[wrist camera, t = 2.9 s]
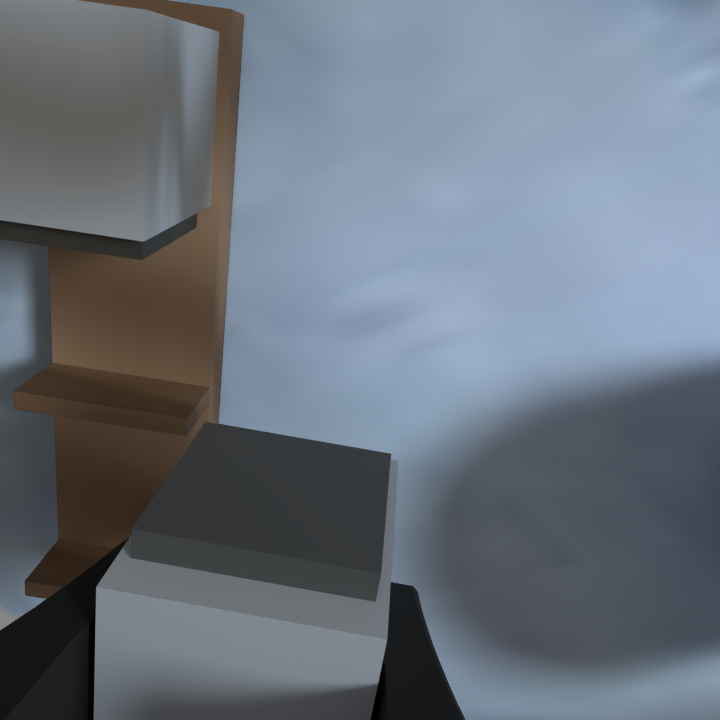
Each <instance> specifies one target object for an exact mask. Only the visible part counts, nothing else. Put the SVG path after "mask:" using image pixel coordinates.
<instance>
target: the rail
mask: <svg viewBox="0 0 720 720" xmlns="http://www.w3.org/2000/svg"><path fill="white" fill-rule="evenodd" d="M243 25H244V15H243V14H241V13H239V12H236V11H234V10H232V9H225V8H218V7H211V6H204V5H197V4H189V3H182V2H175V1H168V0H0V239H5V240H11V241H18V242H25V243H31V244H38V245H44V246H48V249H49V277H50V305H51V333H52V361H53V363H51V364H50V365H49V366H47V367H46V368H45V369H43V370H42V371H40V372H39V373H38V374H36V375H35V376H34V377H32V378H31V379H29V380H28V381H27V382H25V383H24V384H23V385H21V386H20V387H18V388H17V389H16V390H14V391H13V394H14V409H18V410H24V411H31V412H37V413H43V414H49V415H54V417H55V445H56V473H57V501H58V529H59V540H58V541H57V542H56V543H55V545H54V546H53V547H52V548H51V549H50V551H49V552H48V553H47V554H46V556H45V557H44V558H43V559H42V561H41V562H40V563H39V564H38V565H37V567H36V568H35V569H34V570H33V572H32V573H31V574H30V575H29V577H28V578H27V579H26V580H25V595H27V596H33V597H39V598H45V599H47V598H49V597H50V596H51V595H53V594H54V593H56V592H57V591H58V590H60V589H61V588H62V587H64V586H65V585H67V584H68V583H69V582H71V581H72V580H73V579H75V578H76V577H77V576H79V575H80V574H81V573H83V572H84V571H85V570H87V569H88V568H89V567H90V566H92V565H93V564H94V563H96V562H97V561H98V560H100V559H101V558H102V557H103V556H105V555H106V554H107V553H109V552H110V551H111V550H112V549H114V548H115V547H116V546H118V545H119V544H120V543H122V542H123V541H124V540H126V539H127V538H129V537H130V536H131V535H132V528H133V527H134V526H135V524H136V523H137V521H138V520H139V518H140V517H141V515H142V514H143V512H144V511H145V509H146V508H147V506H148V505H149V504H150V502H151V501H152V499H153V498H154V496H155V495H156V493H157V492H158V490H159V489H160V487H161V486H162V484H163V483H164V482H165V480H166V479H167V477H168V476H169V474H170V473H171V471H172V470H173V468H174V467H175V465H176V464H177V463H178V461H179V460H180V458H181V457H182V455H183V454H184V452H185V451H186V449H187V448H188V446H189V445H190V443H191V442H192V441H193V439H194V438H195V436H196V435H197V433H198V432H199V430H200V429H201V427H202V426H203V424H204V423H205V422H211V423H216V424H218V422H219V406H220V390H221V375H222V359H223V343H224V327H225V311H226V295H227V279H228V263H229V247H230V231H231V215H232V200H233V184H234V168H235V152H236V136H237V120H238V104H239V88H240V72H241V56H242V41H243Z"/></svg>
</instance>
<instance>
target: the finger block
mask: <svg viewBox="0 0 720 720" xmlns="http://www.w3.org/2000/svg"><path fill="white" fill-rule="evenodd" d="M397 471H398V461H395V460H391V454H389V453H383V452H378V451H372V450H366V449H360V448H355V447H349V446H343V445H337V444H332V443H326V442H320V441H314V440H309V439H303V438H297V437H291V436H286V435H280V434H274V433H268V432H263V431H257V430H251V429H245V428H239V427H234V426H228V425H222V424H216V423H211V422H205V423H204V424H203V426H202V427H201V429H200V430H199V432H198V433H197V435H196V436H195V438H194V439H193V441H192V442H191V443H190V445H189V446H188V448H187V449H186V451H185V452H184V454H183V455H182V457H181V458H180V460H179V461H178V463H177V464H176V465H175V467H174V468H173V470H172V471H171V473H170V474H169V476H168V477H167V479H166V480H165V482H164V483H163V484H162V486H161V487H160V489H159V490H158V492H157V493H156V495H155V496H154V498H153V499H152V501H151V502H150V504H149V505H148V506H147V508H146V509H145V511H144V512H143V514H142V515H141V517H140V518H139V520H138V521H137V523H136V524H135V526H134V527H133V528H132V535H131V536H130V538H129V539H128V541H127V542H126V544H125V545H124V547H123V548H122V550H121V551H120V553H119V554H118V555H117V557H116V558H115V560H114V561H113V563H112V564H111V566H110V567H109V569H108V570H107V572H106V573H105V575H104V576H103V578H102V579H101V581H100V582H99V584H98V585H97V587H96V623H95V675H94V720H371V715H372V710H373V706H374V701H375V696H376V691H377V686H378V682H379V677H380V672H381V667H382V662H383V658H384V653H385V648H386V643H387V636H388V619H389V603H390V586H391V570H392V553H393V537H394V520H395V504H396V487H397Z"/></svg>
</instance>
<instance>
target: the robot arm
mask: <svg viewBox="0 0 720 720" xmlns="http://www.w3.org/2000/svg"><path fill="white" fill-rule="evenodd" d="M129 538H130V537H129ZM129 538H127V539H126V540H124V541H123V542H122V543H120V544H119V545H118V546H116V547H115V548H114V549H112V550H111V551H110V552H109V553H107V554H106V555H105V556H103V557H102V558H101V559H100V560H98V561H97V562H96V563H94V564H93V565H92V566H90V567H89V568H88V569H87V570H85V571H84V572H83V573H81V574H80V575H79V576H77V577H76V578H75V579H73V580H72V581H71V582H69V583H68V584H67V585H65V586H64V587H62V588H61V589H60V590H58V591H57V592H56V593H54V594H53V595H51V596H50V597H49V598H47V599H46V600H45V601H43V602H42V603H40V604H39V605H38V606H36V607H35V608H33V609H32V610H30V611H29V612H27V613H26V614H24V615H23V616H21V617H20V618H18V619H17V620H15V621H14V622H12V623H11V624H9V625H8V626H6V627H5V628H3V629H2V630H0V720H94V675H95V623H96V587H97V585H98V584H99V582H100V581H101V579H102V578H103V576H104V575H105V573H106V572H107V570H108V569H109V567H110V566H111V564H112V563H113V561H114V560H115V558H116V557H117V555H118V554H119V553H120V551H121V550H122V548H123V547H124V545H125V544H126V542H127V541H128V539H129ZM371 720H465V718H464V716H463V714H462V712H461V710H460V708H459V706H458V704H457V701H456V699H455V697H454V695H453V693H452V690H451V688H450V686H449V683H448V681H447V679H446V676H445V674H444V671H443V669H442V666H441V664H440V661H439V659H438V657H437V654H436V651H435V649H434V646H433V643H432V640H431V637H430V634H429V631H428V628H427V625H426V622H425V619H424V615H423V612H422V608H421V604H420V600H419V596H418V592H417V591H416V589H415V588H414V587H413V586H410V585H404V584H398V583H392V582H391V586H390V603H389V619H388V636H387V643H386V648H385V653H384V658H383V662H382V667H381V672H380V677H379V682H378V686H377V691H376V696H375V701H374V706H373V710H372V715H371Z"/></svg>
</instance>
